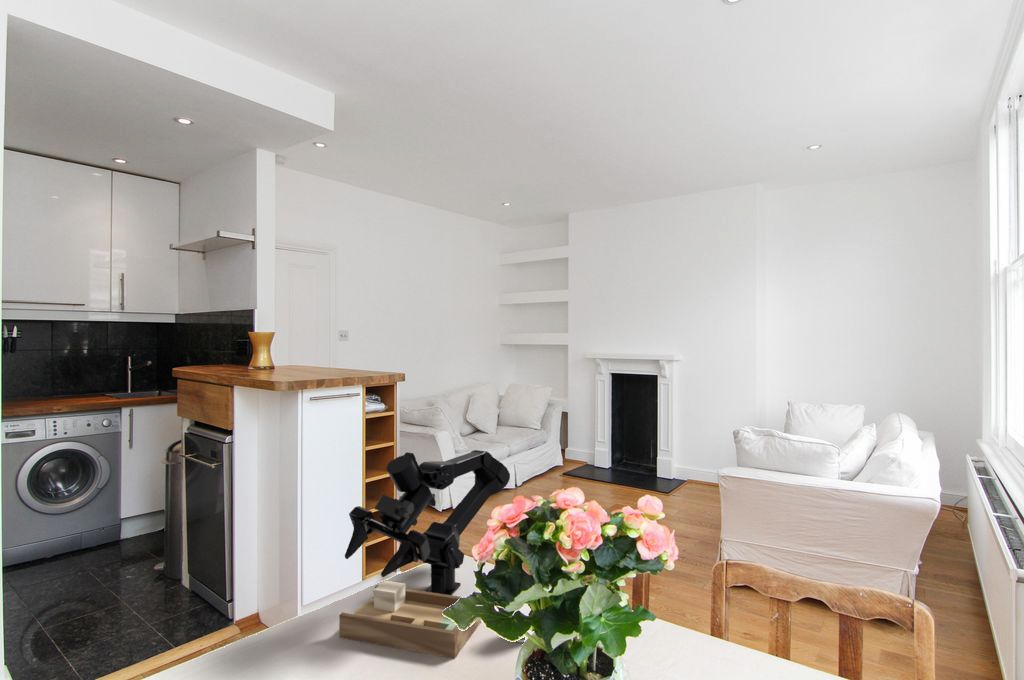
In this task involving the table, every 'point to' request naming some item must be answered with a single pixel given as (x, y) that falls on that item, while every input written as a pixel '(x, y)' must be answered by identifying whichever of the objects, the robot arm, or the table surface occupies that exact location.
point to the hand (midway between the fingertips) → (363, 566)
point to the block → (389, 596)
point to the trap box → (409, 625)
